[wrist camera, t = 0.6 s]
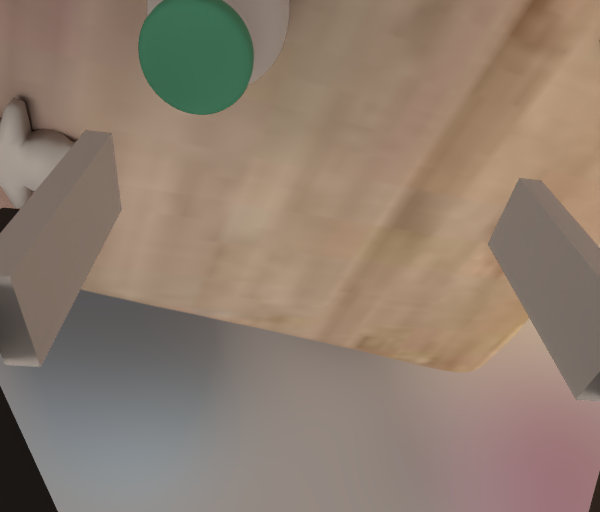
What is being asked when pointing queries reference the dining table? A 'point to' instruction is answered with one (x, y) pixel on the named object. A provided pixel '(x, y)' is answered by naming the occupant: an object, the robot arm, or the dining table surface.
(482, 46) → the dining table surface
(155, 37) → the milk bottle
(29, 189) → the grey lumpy figure
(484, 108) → the dining table surface
